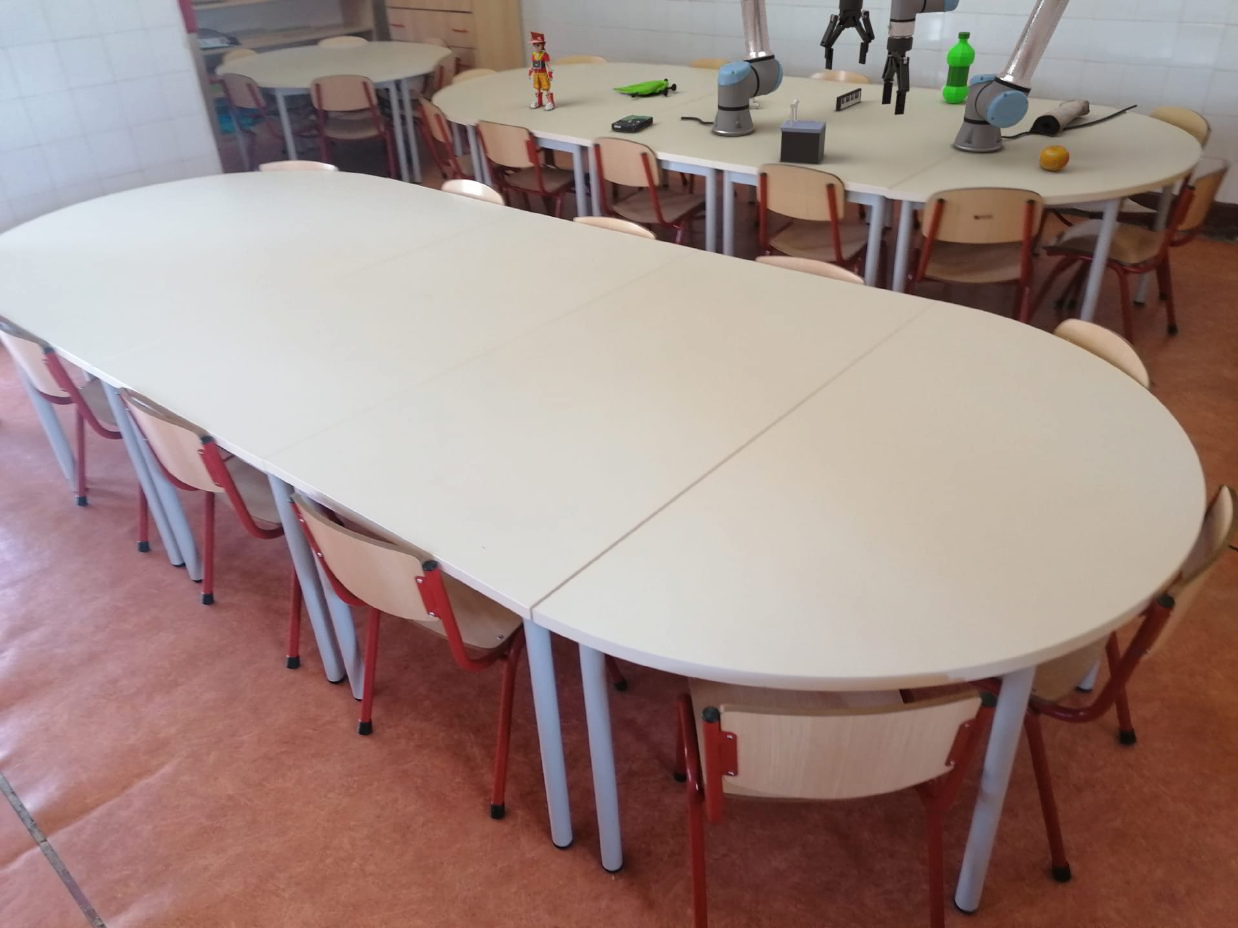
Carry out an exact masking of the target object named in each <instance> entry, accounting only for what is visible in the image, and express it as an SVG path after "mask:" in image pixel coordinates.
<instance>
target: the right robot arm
mask: <svg viewBox="0 0 1238 928" xmlns="http://www.w3.org/2000/svg"><path fill="white" fill-rule="evenodd" d="M1070 1H1071V0H1036V1H1035V4H1034V6H1033V8H1032V11H1031V12H1030V15H1029V16H1028V19H1027V21H1026V23H1025V25H1024V27H1023V29H1022V31H1021V33H1020V36H1019V38H1018V40H1017V42H1016V44H1015V46H1014V48H1013V50H1012V52H1011V54H1010V57H1009V59H1008V60H1007V63H1006V65H1005V66H1004V69H1003V71H1001V72H999V73H982V74H981V73H980V74H975V75H972V76H971V78H970V80H969V84H968V85H967V86H968V94H967V97H966V102H965V108H964V113H963V114H964V115H963V122H962V124H961V126H960V128H959V130H958V132H957V134H956V136H955V138H954V142H953V147H954V148H955V149H957V150H958V151H962V152H967V153H968V152H969V153H977V154H979V153H983V154H984V153H993V152H996V151H999V150H1001V149H1002V145H1003V139H1005V140H1006V139H1007V140H1010V139H1011V140H1012V139H1015V138H1018V137H1020V136H1024V135H1030V134H1039V133H1041V132H1040V131H1033V132H1032V131H1029V130H1028V131H1027V130H1026V131H1023V132H1019V133H1017V134H1014V135H1002V130H1001V129H1008V128H1011V127H1013V126H1016V125H1018V124H1019V123H1020V122H1021V121H1022V120H1023V119H1024V117H1025V116H1026V115H1027V112H1028V110H1029V100H1028V97H1029V95H1030V92H1031V90H1032V88H1033V86H1032V82H1031V79H1032V77H1033V76H1034V73H1035V72H1036V70H1037V67H1038V65H1039V64H1040V61H1041V59H1042V57H1043V56H1044V53H1045V51H1046V49H1047V47H1048V45H1049V43H1050V42H1051V39H1052V37H1053V35H1054V33H1055V31H1056V29H1057V27H1058V25H1059V23H1060V21H1061V19H1062V17H1063V15H1064V13H1065V11H1066V9H1067V7H1068V5H1069V3H1070ZM959 3H960V0H891V1H890V15H889V24H887V26H886V27H887V29H888V33H887V35H888V37H887V41H886V51H887V54H886V60H885V63H884V67H883V71H882V75H881V79H882V80H883V88H882V96H881V97H882V98H881V105H891V104H892V103H891V102H892V96H893V95H892V94H893V87H894V86H893V85H894V81H895V79H894V77H895V75H896V84H897V90H896V91H895V94H896V97H895V106H894V116H899V115H905V107H906V100H907V93H908V92H910V90H911V89H910V88H911V87H910V85H911V84H910V61H911V60H910V56H906V55H907V52H910V51H911V50H912V49H913V46H914V45H913V44H914V37H913V35H915V30H916V29H915V27H916V18H917V14H929V13H932V14H933V13H946V12H954V11H955V10H956V9H957V7H958V6H959ZM1137 107H1138V104H1133V105H1130V106H1128V107H1126V108H1123V109H1121V110H1118V111H1117V112H1113V114H1110V115H1108V116H1105V117H1102V118H1099V119H1096V120H1092V121H1090V122H1086V123H1085V122H1084V123H1079V124H1075V125H1068V126H1065V127H1064V128H1063V129H1062V130H1061V131H1063V130H1069V129H1077V128H1082V127H1087V126H1091V125H1093V124H1097V123H1100V122H1104V121H1107V120H1108V119H1111V118H1113V117H1115V116H1117V115H1118V116H1119V115H1120V114H1122V113H1125V112H1126V111H1129V110H1132V109H1135V108H1137Z"/></svg>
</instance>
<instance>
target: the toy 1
mask: <svg viewBox="0 0 1238 928" xmlns="http://www.w3.org/2000/svg"><path fill="white" fill-rule="evenodd" d="M529 33H530V35H531V36H528V37H527V38H528V39H529V40H528V41H527V43H529V44H530V43H531V44H532V48H533V50H534V51H533V52H532V55H531V58H530V59H531V63H530V66H528V74H527V75H528V76H527V77H528V79H529V80H531V75H532V74H533V84H532V85H533V86H532V87H533V88H534V89H535V90H536V92H534V95H535V97H536V100H535V101H533V102H531V105H530V108H531V109H535V108H538V107H542V106H544V101H543V100H544V99H543V95H544V92H546V94H545V97H546V99H547V103H546V104H545V106H544V110H546V111H549V110H553V109H554V107H555V106H556V105H555V99H554V92H551V91H550V90H551V86H552V84H551V82H552V81H553V80H554V77H553V73H554V71H555V70H554V69H552V68H551V63H550V61H551V59H550V58H551V57H550V54H549V53H548V52H547V50H546V48H545V46H546V44H547V41H545V35H544V33H543V32H542V33H539V32H535V31H529Z"/></svg>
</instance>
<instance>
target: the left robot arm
mask: <svg viewBox="0 0 1238 928" xmlns="http://www.w3.org/2000/svg"><path fill="white" fill-rule="evenodd" d="M838 1H839V2H838V10H839V13H838V14H833V13H832V14H830V17H829V22H828V24H827V27H826V30H825V31H824V34H823V36H822V37H821V41H820V43H819V46H820V47H822V48H824V59H825V64H824V65H825V66H824V68H825V70H829V71H832V70H833V60H834V48H833V46H834V45H835V43H836V41H837V40H838V39H839V37H840V36H841V34H842V33H843V31H845V30H846V29H850V28H852V29H853V28H854V29H855V30H856V32H857V33H858V36H859V37H860V39H861V40H862V41H861V42H860V45H859V46H860V47H859V56H858V64H859V65H866V62H867V54H868V53H869V46H870V44H871V43H872V42H873V41H874V40H875V39H876V36H875V33H874V29H873V25H872V22H871V18H870V10H867V9H863V6H864V0H838ZM740 8H741V16H742V25H743V32H744V33H743V34H744V35H743V36H744V44H745V56H744V57H743V58H742V60H738V61H732V62H728V63H726V64H723V65H722V66H720V68H718V73H717V74H718V75H717V111H716V114H715V118H714V120H713V121H705V120H702V119H701V118H699V117H695V116H681V117H680V120H687V121H688V120H692V121H698V122H699V123H700V124H702V125H712V133H713V134H715V135H717V136H721V137H741V136H746V135H750V134H752V133H754V127H755V126H754V122H753V118H752V115H751V111H750V108H749V99H750V98H753V97H754V98H756V97H760V96H761V97H762V96H768V95H769V94H771V93H772V94H773V93H774V92H776V91H777V90H779V87H780V86H781V84H782V82H783V78H784V69H783V66H782V64H781V62H780V61H779V60H778V59H776V56H775V52H773V51H772V50H771V47H770V40H769V39H770V38H769V28H768V18H767V17H768V16H767V8H766V0H740ZM861 21H862V22H861Z"/></svg>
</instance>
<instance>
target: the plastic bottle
mask: <svg viewBox="0 0 1238 928" xmlns="http://www.w3.org/2000/svg"><path fill="white" fill-rule="evenodd" d="M970 36H971V32H970V31H959V32H958V36H957V39H958V42H957V43H956V44H954V45H953V46H952V47H951V48H950V49H949V50H948V52H947V54H946V63H947V64H948V69H947V70H948V71H947V76H946V77H947V78H946V84H945V85H944V87H943V90H942V97H943V99H944V100H945V101H946V102H947V103H948V104H960V103H961V102H963V101H964V100H966V99H967V94H968V86H969V85H968V79H969V73H970V67H971V65H972V64H973V63H974V61H975V57H976V51H975V49H974V47H972V45H971V44H970V43H969V42H968V41H969V39H970V38H971V37H970Z"/></svg>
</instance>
